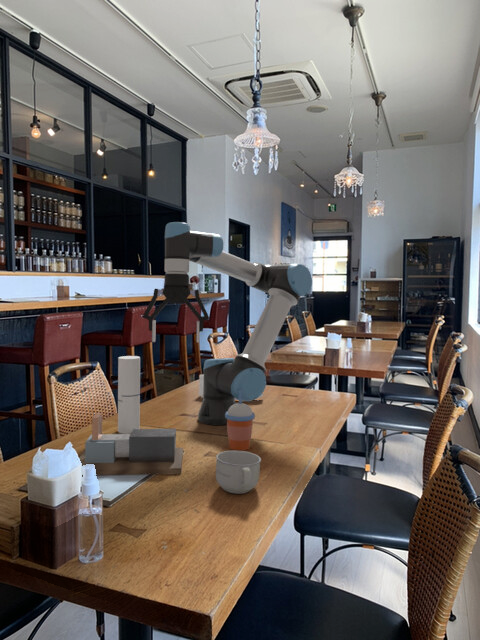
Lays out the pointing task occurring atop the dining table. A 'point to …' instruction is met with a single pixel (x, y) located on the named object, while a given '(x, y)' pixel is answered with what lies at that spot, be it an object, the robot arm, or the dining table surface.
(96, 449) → the socket block
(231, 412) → the cup with straw
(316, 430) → the dining table surface
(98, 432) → the grey block with peg
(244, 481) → the teacup
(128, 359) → the cylindrical container
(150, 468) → the walnut base board
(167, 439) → the outer sleeve
